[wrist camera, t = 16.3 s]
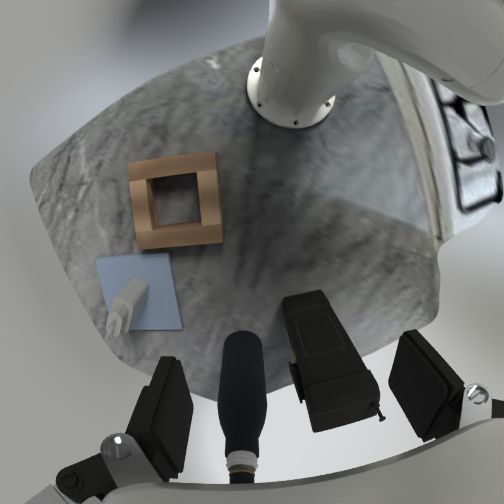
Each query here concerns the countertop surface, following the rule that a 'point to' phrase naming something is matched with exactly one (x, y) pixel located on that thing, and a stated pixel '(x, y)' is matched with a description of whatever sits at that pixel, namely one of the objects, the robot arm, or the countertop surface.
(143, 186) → the walnut collar
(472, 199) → the countertop surface
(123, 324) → the power adapter
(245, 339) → the black water bottle
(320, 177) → the countertop surface
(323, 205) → the countertop surface
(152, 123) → the countertop surface
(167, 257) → the blue square plate
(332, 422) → the portable radio
